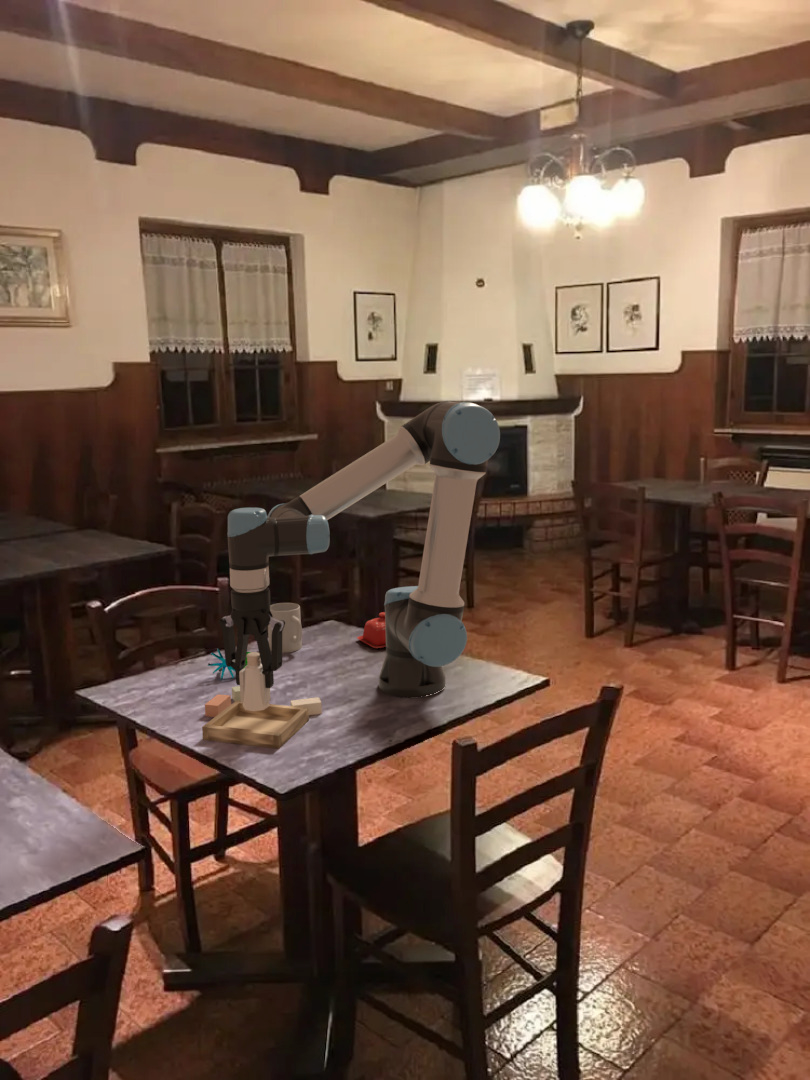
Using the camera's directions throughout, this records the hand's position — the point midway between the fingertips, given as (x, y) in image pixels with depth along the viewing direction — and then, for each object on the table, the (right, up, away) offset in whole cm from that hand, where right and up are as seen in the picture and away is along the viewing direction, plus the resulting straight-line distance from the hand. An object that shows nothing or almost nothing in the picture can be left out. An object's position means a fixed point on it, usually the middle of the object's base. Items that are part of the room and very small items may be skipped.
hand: (255, 701), depth 181 cm
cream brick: (+9, -5, +10) cm, 14 cm away
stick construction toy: (-11, -1, +33) cm, 34 cm away
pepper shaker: (0, -1, 0) cm, 1 cm away
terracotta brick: (-10, -5, +11) cm, 16 cm away
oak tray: (0, -6, +1) cm, 6 cm away
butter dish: (+24, +5, +57) cm, 62 cm away
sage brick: (-5, -3, +19) cm, 20 cm away
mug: (0, +4, +53) cm, 53 cm away
